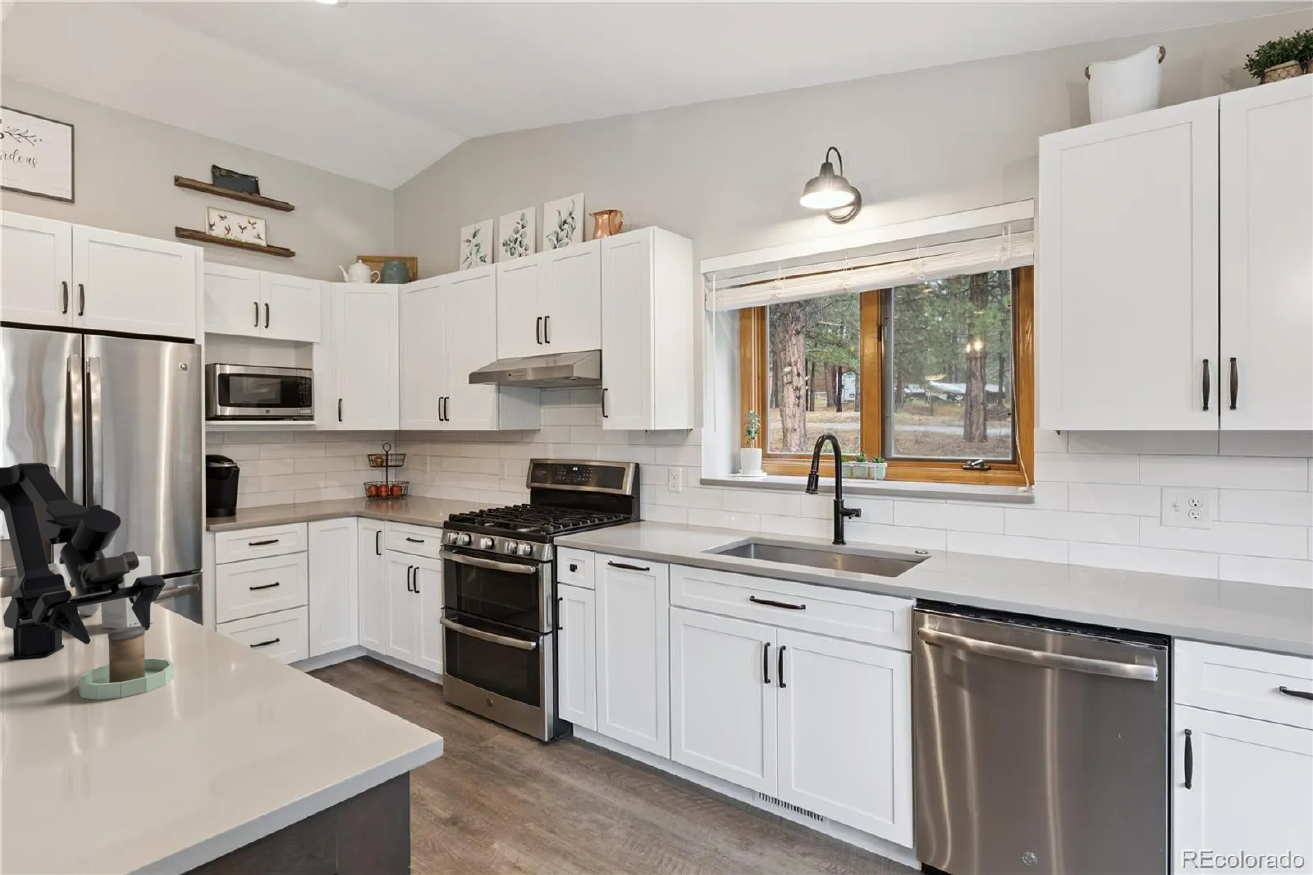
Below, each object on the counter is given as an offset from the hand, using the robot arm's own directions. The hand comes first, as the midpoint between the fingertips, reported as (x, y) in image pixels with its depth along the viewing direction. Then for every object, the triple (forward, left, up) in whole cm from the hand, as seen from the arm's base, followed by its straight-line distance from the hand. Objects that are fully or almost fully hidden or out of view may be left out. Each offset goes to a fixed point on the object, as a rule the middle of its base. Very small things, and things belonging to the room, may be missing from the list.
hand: (119, 635), depth 125 cm
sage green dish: (+2, -2, -8) cm, 9 cm away
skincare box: (-16, +40, -9) cm, 44 cm away
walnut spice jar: (+2, -2, -8) cm, 8 cm away
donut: (-29, +52, -9) cm, 60 cm away
